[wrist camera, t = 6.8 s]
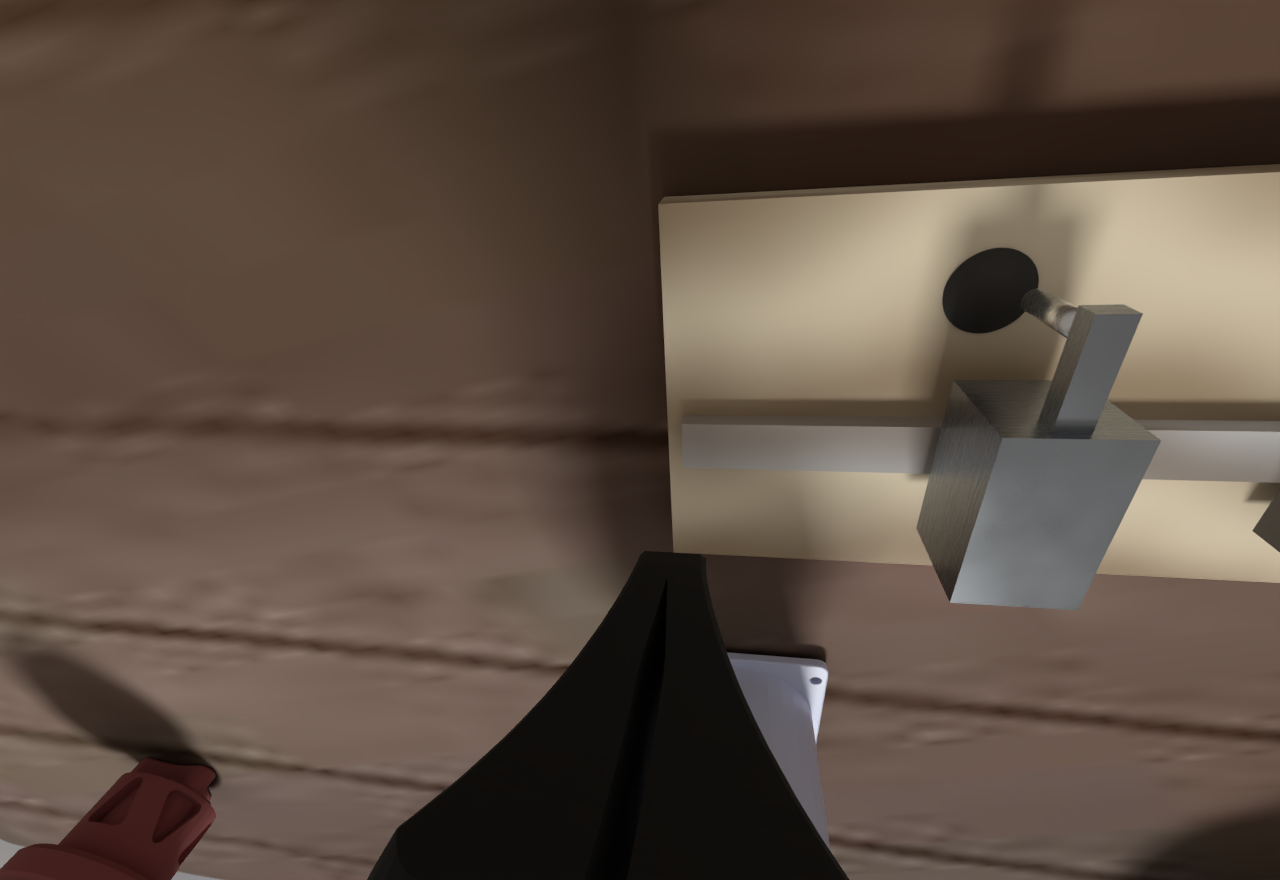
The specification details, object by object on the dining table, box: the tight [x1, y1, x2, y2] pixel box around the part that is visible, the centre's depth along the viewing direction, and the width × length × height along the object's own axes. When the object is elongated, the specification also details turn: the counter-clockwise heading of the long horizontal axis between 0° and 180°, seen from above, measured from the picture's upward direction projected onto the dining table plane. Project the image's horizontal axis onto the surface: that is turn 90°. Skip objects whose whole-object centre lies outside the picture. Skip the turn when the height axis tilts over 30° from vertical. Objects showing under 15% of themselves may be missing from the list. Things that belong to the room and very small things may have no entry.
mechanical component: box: [0, 758, 216, 880], centre depth 35 cm, size 12×10×10 cm
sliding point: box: [916, 288, 1161, 610], centre depth 13 cm, size 8×3×4 cm, turn 4°
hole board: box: [658, 164, 1280, 583], centre depth 14 cm, size 12×23×5 cm, turn 94°
